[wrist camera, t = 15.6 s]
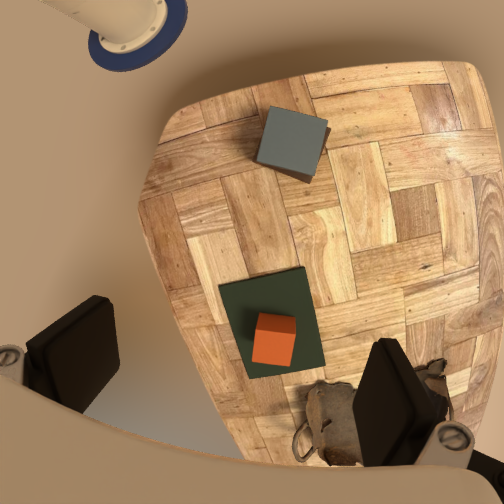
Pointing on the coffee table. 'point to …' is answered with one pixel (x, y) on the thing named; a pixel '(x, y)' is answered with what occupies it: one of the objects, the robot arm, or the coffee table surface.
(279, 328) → the top cube
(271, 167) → the bottom block
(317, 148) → the middle block
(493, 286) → the coffee table surface
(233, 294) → the mat
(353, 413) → the robot arm
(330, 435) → the rusty handled basin
